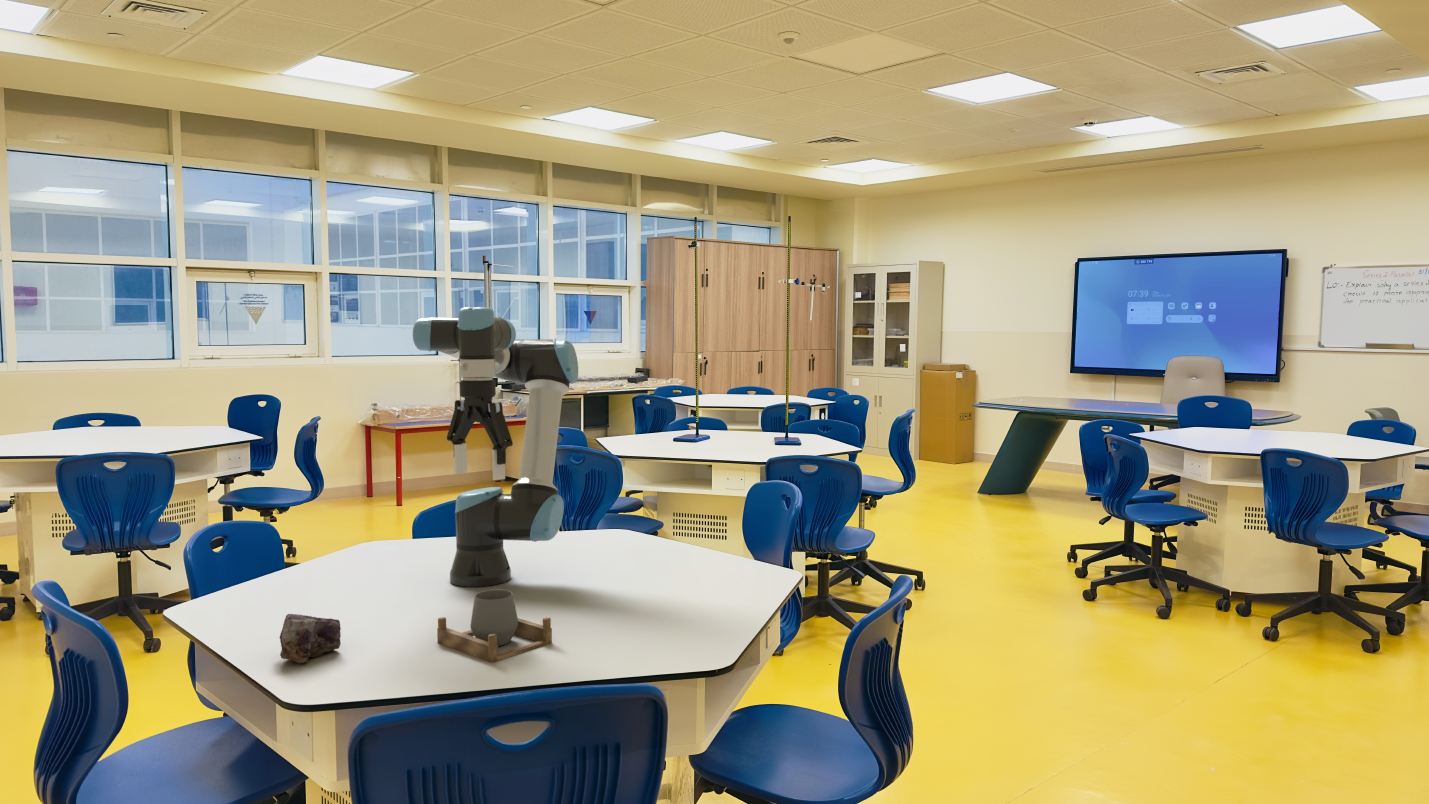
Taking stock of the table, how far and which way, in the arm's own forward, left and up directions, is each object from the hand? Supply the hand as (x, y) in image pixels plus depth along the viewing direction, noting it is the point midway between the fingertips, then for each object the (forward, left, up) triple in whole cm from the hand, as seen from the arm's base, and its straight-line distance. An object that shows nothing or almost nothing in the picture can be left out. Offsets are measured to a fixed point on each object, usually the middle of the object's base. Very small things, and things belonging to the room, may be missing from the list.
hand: (479, 476), depth 202 cm
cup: (+15, -8, -32) cm, 36 cm away
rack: (+15, -8, -32) cm, 36 cm away
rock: (-7, -36, -32) cm, 49 cm away
